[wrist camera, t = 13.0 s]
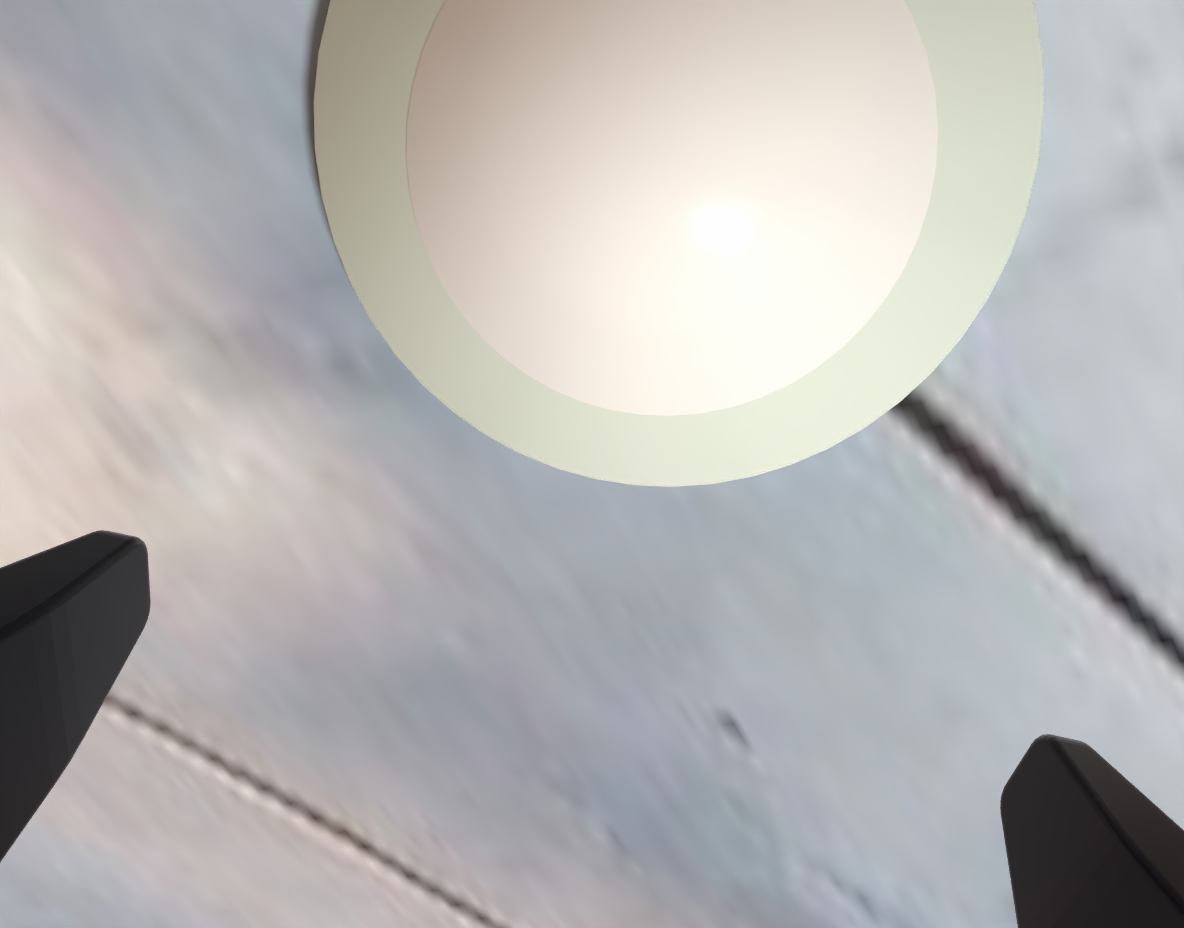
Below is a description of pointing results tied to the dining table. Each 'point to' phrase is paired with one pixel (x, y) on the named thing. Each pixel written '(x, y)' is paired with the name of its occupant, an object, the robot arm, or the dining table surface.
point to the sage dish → (675, 211)
